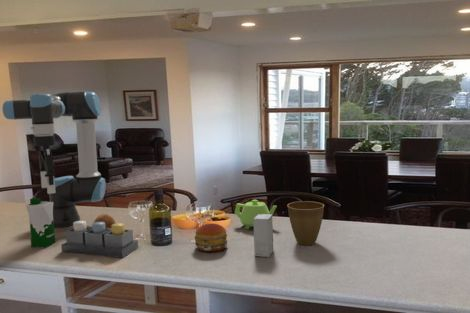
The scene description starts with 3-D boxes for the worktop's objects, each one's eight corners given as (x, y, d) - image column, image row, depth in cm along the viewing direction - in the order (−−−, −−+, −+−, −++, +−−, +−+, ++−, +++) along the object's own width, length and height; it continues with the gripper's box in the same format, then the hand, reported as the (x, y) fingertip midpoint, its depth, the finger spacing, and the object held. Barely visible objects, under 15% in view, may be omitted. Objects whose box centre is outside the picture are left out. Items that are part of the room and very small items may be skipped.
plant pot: (331, 241, 182) (331, 204, 180) (311, 251, 171) (310, 211, 169) (301, 234, 192) (300, 198, 190) (280, 243, 182) (280, 205, 179)
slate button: (97, 233, 182) (96, 221, 181) (108, 234, 181) (107, 222, 180) (90, 236, 177) (89, 224, 177) (101, 237, 176) (100, 225, 175)
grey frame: (80, 242, 190) (79, 224, 189) (138, 247, 181) (137, 228, 180) (61, 251, 178) (60, 232, 177) (122, 257, 170) (121, 237, 169)
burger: (189, 252, 174) (188, 227, 173) (203, 241, 187) (202, 218, 186) (220, 255, 170) (219, 230, 168) (232, 244, 182) (232, 221, 181)
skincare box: (269, 257, 166) (268, 219, 164) (253, 256, 168) (252, 218, 166) (273, 250, 174) (273, 213, 172) (259, 249, 176) (258, 212, 174)
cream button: (79, 231, 185) (78, 220, 184) (89, 232, 183) (88, 220, 183) (71, 235, 180) (70, 223, 179) (81, 236, 179) (81, 224, 178)
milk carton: (40, 240, 193) (36, 196, 191) (59, 241, 191) (55, 196, 189) (27, 247, 185) (23, 201, 182) (46, 248, 183) (42, 201, 180)
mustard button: (116, 234, 180) (115, 222, 179) (127, 235, 178) (126, 223, 177) (109, 238, 175) (109, 226, 174) (120, 239, 173) (120, 227, 173)
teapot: (279, 223, 211) (278, 197, 209) (274, 231, 198) (274, 204, 196) (238, 221, 215) (237, 196, 214) (231, 229, 203) (230, 202, 201)
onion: (89, 236, 198) (87, 214, 197) (109, 230, 205) (107, 209, 204) (100, 240, 192) (99, 218, 190) (120, 234, 199) (119, 213, 198)
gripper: (28, 134, 175) (33, 186, 178) (38, 138, 154) (43, 197, 157) (48, 132, 179) (53, 184, 181) (60, 136, 158) (65, 194, 160)
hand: (48, 190), depth 169 cm, fingers open, 13 cm apart
